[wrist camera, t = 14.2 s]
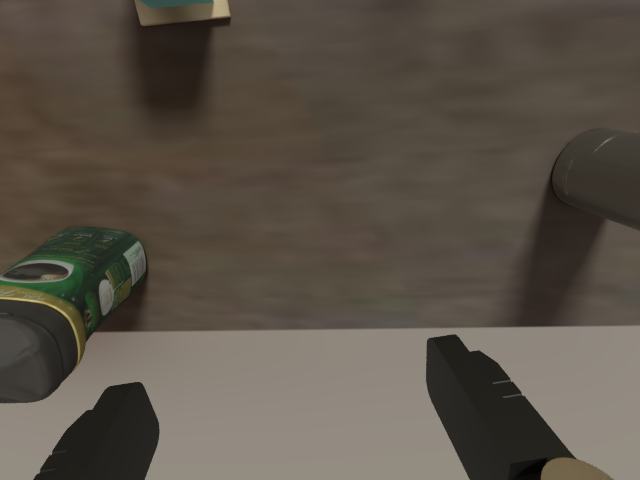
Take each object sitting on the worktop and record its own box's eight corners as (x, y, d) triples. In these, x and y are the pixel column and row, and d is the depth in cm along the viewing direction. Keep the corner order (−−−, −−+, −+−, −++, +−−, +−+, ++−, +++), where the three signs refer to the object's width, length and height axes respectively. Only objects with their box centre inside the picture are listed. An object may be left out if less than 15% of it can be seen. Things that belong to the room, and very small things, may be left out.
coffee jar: (65, 284, 40) (-101, 422, 23) (54, 221, 37) (-146, 325, 20) (152, 289, 41) (57, 423, 24) (147, 228, 38) (36, 331, 21)
